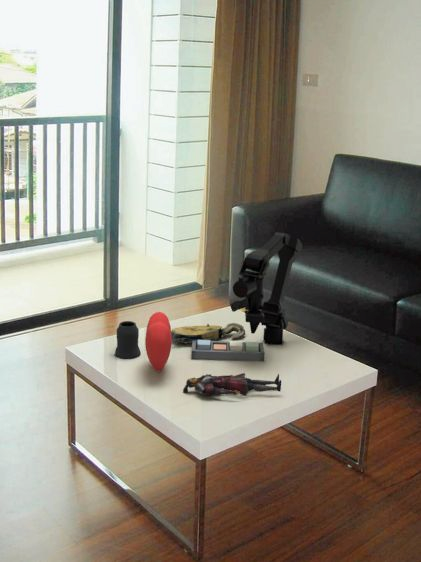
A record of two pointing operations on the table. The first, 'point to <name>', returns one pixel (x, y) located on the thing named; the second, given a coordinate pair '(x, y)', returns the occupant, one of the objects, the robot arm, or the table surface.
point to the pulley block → (206, 332)
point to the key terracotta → (219, 347)
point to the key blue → (203, 345)
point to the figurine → (229, 384)
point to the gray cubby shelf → (227, 353)
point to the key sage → (252, 346)
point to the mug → (127, 341)
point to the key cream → (236, 346)
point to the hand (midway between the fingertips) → (252, 333)
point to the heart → (158, 340)
